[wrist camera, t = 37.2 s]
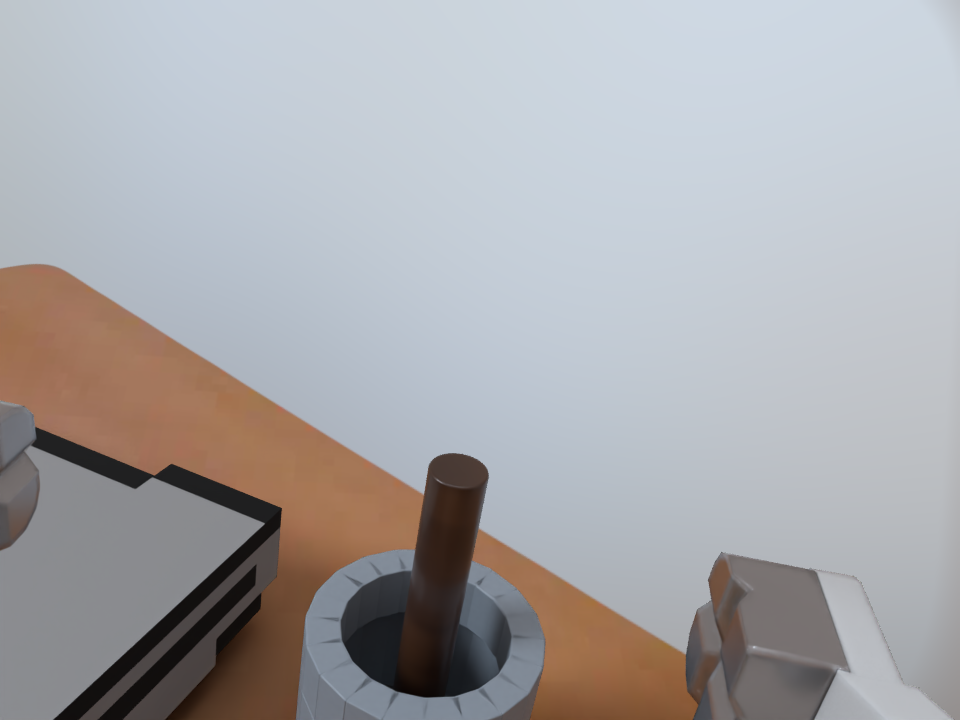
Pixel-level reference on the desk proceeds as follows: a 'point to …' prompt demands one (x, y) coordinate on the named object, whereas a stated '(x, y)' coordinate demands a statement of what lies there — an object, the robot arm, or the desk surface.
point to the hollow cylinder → (376, 640)
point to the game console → (125, 586)
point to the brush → (440, 573)
